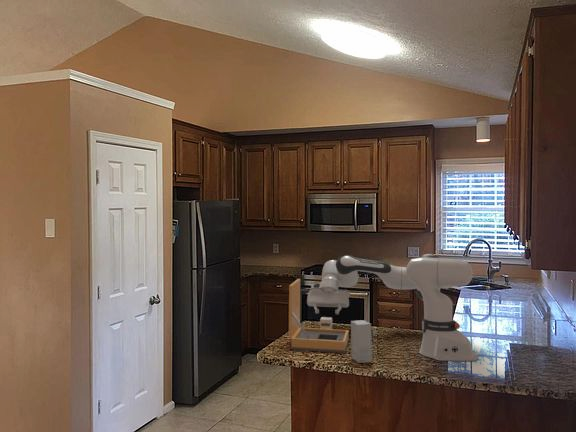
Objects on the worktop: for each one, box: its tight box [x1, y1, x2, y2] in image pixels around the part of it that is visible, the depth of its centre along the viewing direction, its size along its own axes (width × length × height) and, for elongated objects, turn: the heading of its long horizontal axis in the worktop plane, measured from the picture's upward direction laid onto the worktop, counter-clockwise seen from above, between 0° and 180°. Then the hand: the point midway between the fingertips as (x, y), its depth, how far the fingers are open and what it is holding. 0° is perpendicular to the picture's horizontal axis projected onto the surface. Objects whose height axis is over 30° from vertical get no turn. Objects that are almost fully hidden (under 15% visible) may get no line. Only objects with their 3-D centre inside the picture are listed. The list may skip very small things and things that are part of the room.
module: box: [319, 316, 333, 329], centre depth 239 cm, size 5×5×8 cm
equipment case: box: [288, 278, 350, 354], centre depth 222 cm, size 23×20×26 cm
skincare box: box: [350, 319, 373, 364], centre depth 201 cm, size 8×6×15 cm
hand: (326, 313), depth 244 cm, fingers open, 8 cm apart
